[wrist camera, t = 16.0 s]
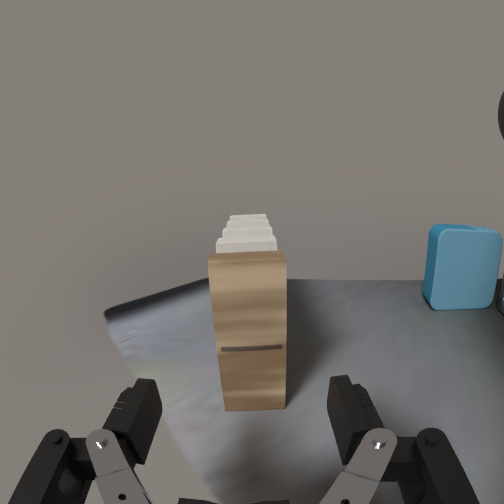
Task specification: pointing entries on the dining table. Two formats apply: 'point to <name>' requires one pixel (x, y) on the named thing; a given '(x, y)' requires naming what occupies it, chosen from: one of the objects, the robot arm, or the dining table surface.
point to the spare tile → (250, 327)
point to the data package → (461, 266)
